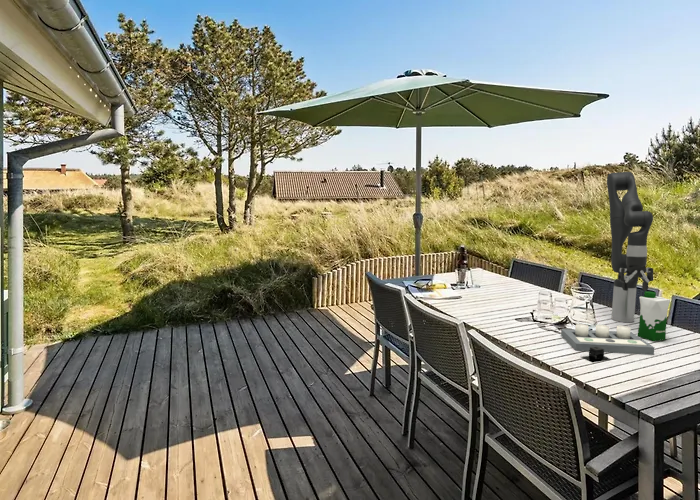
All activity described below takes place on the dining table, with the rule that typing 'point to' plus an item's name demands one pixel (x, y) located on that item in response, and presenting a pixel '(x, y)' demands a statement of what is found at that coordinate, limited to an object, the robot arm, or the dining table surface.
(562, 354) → the dining table surface
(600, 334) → the button
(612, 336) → the button board
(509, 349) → the dining table surface
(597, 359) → the black boxy piece
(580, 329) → the button
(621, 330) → the button
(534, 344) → the dining table surface
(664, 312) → the milk carton
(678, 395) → the dining table surface
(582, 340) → the strip
